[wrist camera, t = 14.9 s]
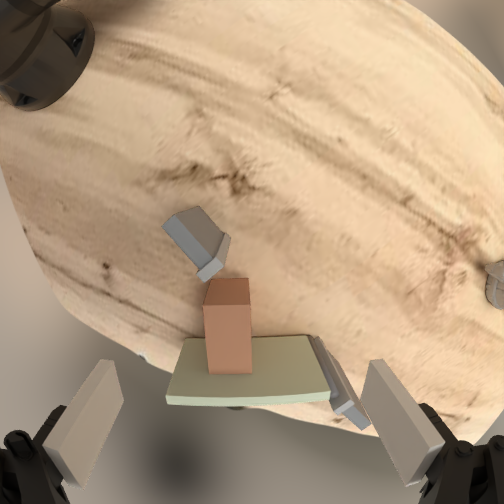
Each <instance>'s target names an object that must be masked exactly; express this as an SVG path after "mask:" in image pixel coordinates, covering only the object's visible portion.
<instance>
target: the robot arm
mask: <svg viewBox="0 0 504 504" xmlns="http://www.w3.org/2000/svg"><path fill="white" fill-rule="evenodd" d="M58 1H60V0H0V95H1V96H2V97H3V98H4V99H5V100H6V101H7V102H8V103H9V104H10V105H12V106H14V107H16V108H19V109H23V110H26V111H34V110H38V109H41V108H44V107H46V106H48V105H50V104H51V103H53V102H54V101H56V100H57V99H58V98H60V97H61V96H62V95H63V94H64V93H65V92H66V91H67V90H68V89H69V88H70V87H71V86H72V85H73V84H74V82H75V81H76V80H77V78H78V77H79V76H80V74H81V73H82V71H83V69H84V68H85V66H86V64H87V62H88V60H89V58H90V55H91V52H92V49H93V45H94V29H93V26H92V24H91V22H90V21H89V20H88V19H87V18H86V17H85V16H84V15H83V14H82V13H81V12H79V11H77V10H74V9H71V8H68V7H64V6H60V5H56V4H55V3H57V2H58ZM360 401H361V403H362V405H363V406H364V408H365V410H366V412H367V414H368V416H369V418H370V420H371V421H372V423H373V425H374V427H375V429H376V431H377V433H378V435H379V437H380V439H381V440H382V442H383V444H384V446H385V448H386V450H387V452H388V454H389V456H390V458H391V460H392V462H393V464H394V466H395V468H396V470H397V472H398V474H399V476H400V477H401V479H402V481H403V483H404V485H405V487H407V486H410V485H413V484H415V483H418V482H420V481H421V480H422V478H423V477H424V475H425V474H426V476H427V478H428V481H427V482H426V483H425V485H424V486H423V488H422V489H421V491H420V493H422V491H423V493H422V496H421V498H420V501H419V504H504V436H502V435H496V436H493V437H492V438H491V439H490V440H489V442H488V443H487V444H486V445H479V446H473V445H472V444H471V443H469V442H467V441H462V440H459V441H458V440H457V439H456V437H455V436H454V435H453V433H452V432H451V431H450V429H449V428H448V427H447V426H446V424H445V423H444V422H442V419H441V418H440V417H439V416H438V414H437V413H436V412H435V410H434V409H433V408H432V407H430V406H429V405H427V404H426V403H422V404H417V403H416V401H415V400H414V399H413V397H412V396H411V395H410V393H409V392H408V391H407V390H406V388H405V387H404V386H403V384H402V383H401V382H400V380H399V379H398V378H397V376H396V375H395V374H394V373H393V371H392V370H391V369H390V367H389V366H388V365H387V364H386V362H385V361H384V360H383V359H377V360H370V363H369V367H368V371H367V375H366V379H365V383H364V387H363V391H362V395H361V398H360ZM123 402H124V399H123V396H122V392H121V388H120V384H119V381H118V377H117V372H116V368H115V364H114V361H112V360H105V359H101V360H100V361H99V362H98V364H97V365H96V367H95V368H94V370H93V371H92V372H91V374H90V375H89V376H88V378H87V379H86V380H85V382H84V383H83V385H82V386H81V388H80V389H79V391H78V392H77V393H76V395H75V396H74V398H73V399H72V401H71V402H70V404H69V405H68V406H63V405H60V406H59V407H57V408H56V409H54V410H53V411H52V412H51V414H50V415H49V417H48V419H47V420H46V421H45V422H44V425H42V427H41V428H40V430H39V431H38V432H37V434H36V436H35V437H34V438H33V440H31V438H30V436H29V434H27V433H26V432H25V431H22V430H15V431H12V432H10V433H9V434H7V435H6V437H5V438H4V445H5V446H6V448H7V450H6V449H1V448H0V504H70V502H69V500H68V498H67V496H66V493H65V491H64V488H63V486H62V485H61V482H62V480H63V478H64V480H65V481H66V482H67V484H68V485H69V486H72V487H75V488H78V489H81V490H84V488H85V486H86V483H87V481H88V479H89V477H90V474H91V472H92V469H93V467H94V465H95V463H96V460H97V458H98V456H99V453H100V451H101V449H102V447H103V444H104V442H105V440H106V438H107V436H108V434H109V432H110V429H111V427H112V425H113V423H114V421H115V419H116V417H117V414H118V412H119V410H120V408H121V406H122V404H123Z"/></svg>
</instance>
